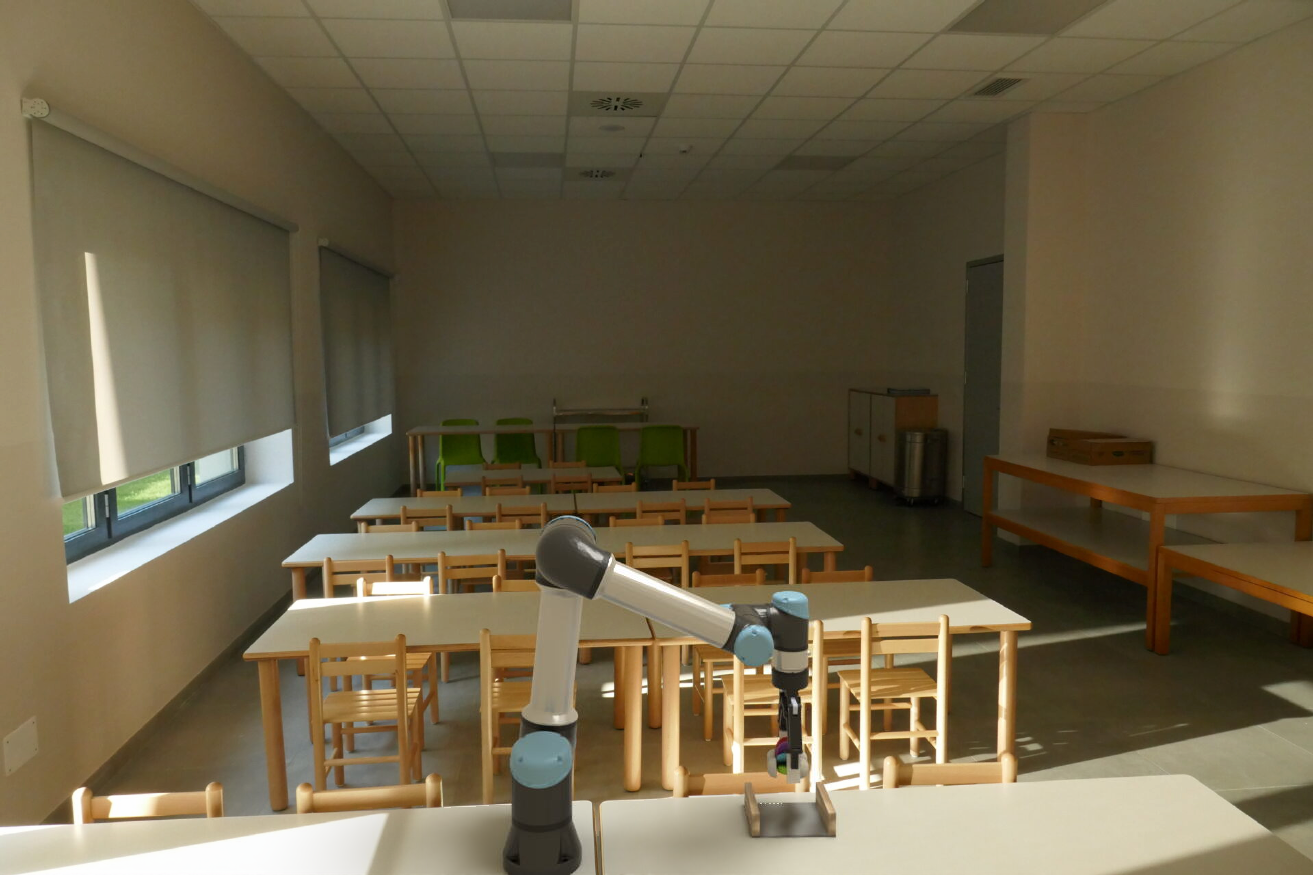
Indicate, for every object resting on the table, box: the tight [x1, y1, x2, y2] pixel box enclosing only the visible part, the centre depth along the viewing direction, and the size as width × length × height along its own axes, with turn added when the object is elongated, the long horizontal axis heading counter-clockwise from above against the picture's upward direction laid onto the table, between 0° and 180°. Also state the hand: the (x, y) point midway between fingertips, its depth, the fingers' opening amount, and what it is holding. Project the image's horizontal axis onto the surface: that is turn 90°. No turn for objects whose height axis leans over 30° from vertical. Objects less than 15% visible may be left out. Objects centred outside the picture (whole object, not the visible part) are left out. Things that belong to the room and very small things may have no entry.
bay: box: [743, 781, 837, 838], centre depth 196 cm, size 17×14×5 cm
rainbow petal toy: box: [766, 737, 810, 780], centre depth 195 cm, size 8×10×7 cm
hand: (789, 771), depth 196 cm, fingers closed on rainbow petal toy, 10 cm apart
